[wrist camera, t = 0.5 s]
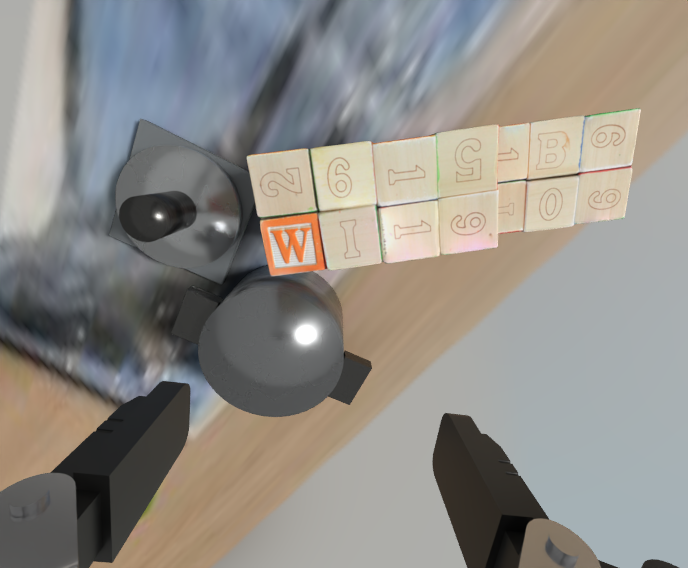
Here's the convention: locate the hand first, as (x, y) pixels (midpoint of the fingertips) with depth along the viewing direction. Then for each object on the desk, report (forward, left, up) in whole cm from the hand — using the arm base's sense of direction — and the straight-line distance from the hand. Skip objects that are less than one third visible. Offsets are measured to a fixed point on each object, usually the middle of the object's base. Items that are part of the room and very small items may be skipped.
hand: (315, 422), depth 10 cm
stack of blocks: (-9, +4, -21) cm, 23 cm away
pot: (+7, -1, -21) cm, 22 cm away
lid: (+1, -13, -20) cm, 24 cm away
